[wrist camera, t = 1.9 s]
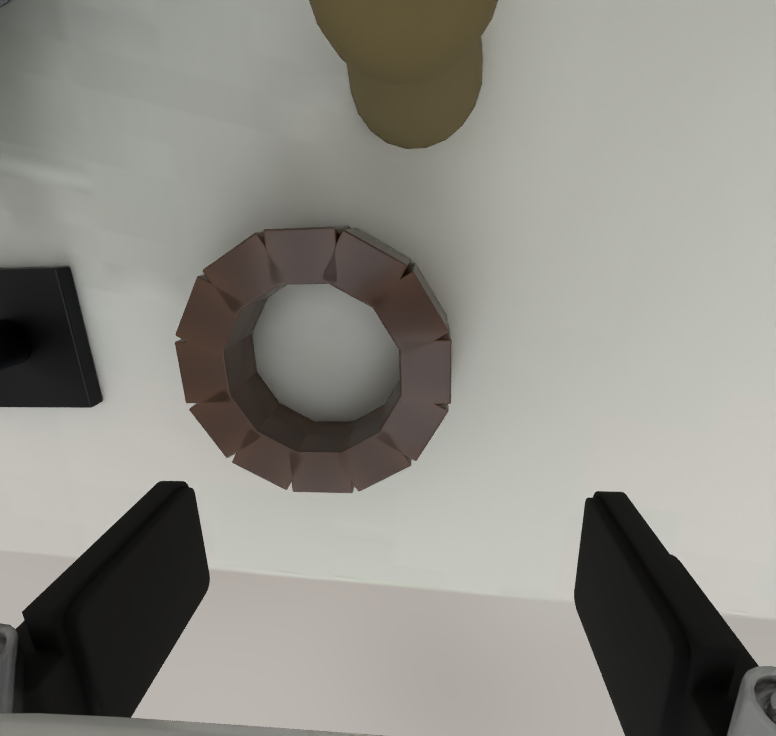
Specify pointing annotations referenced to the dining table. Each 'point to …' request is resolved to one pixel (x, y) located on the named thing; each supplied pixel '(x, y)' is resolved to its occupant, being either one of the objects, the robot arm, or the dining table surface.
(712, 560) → the dining table surface
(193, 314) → the hoop
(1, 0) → the hip flask
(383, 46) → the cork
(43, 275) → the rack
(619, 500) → the robot arm
